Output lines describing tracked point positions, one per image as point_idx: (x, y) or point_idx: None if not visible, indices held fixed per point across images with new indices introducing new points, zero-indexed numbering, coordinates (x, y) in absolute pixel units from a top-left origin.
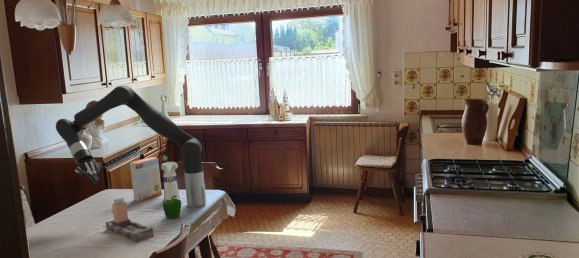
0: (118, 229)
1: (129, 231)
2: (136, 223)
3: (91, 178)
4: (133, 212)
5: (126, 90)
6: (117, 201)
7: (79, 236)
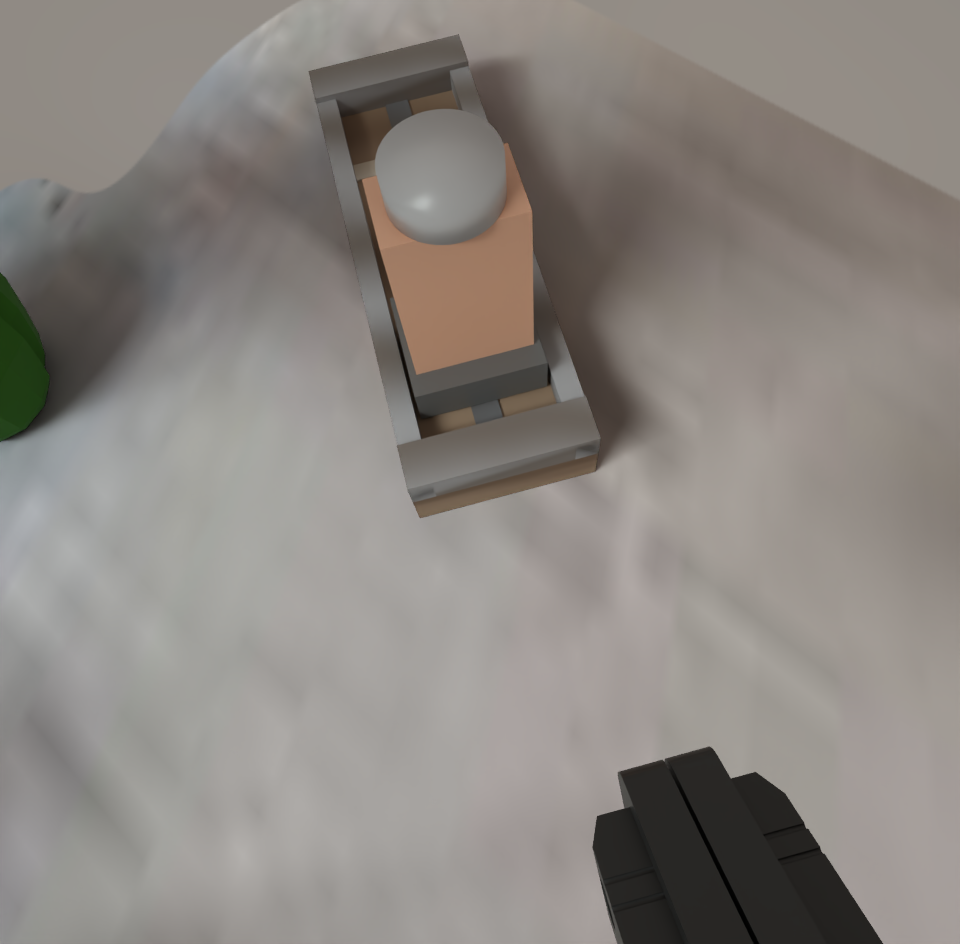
0: None
1: None
2: (363, 244)
3: (840, 897)
4: (192, 836)
5: None
6: (473, 121)
7: (853, 466)
